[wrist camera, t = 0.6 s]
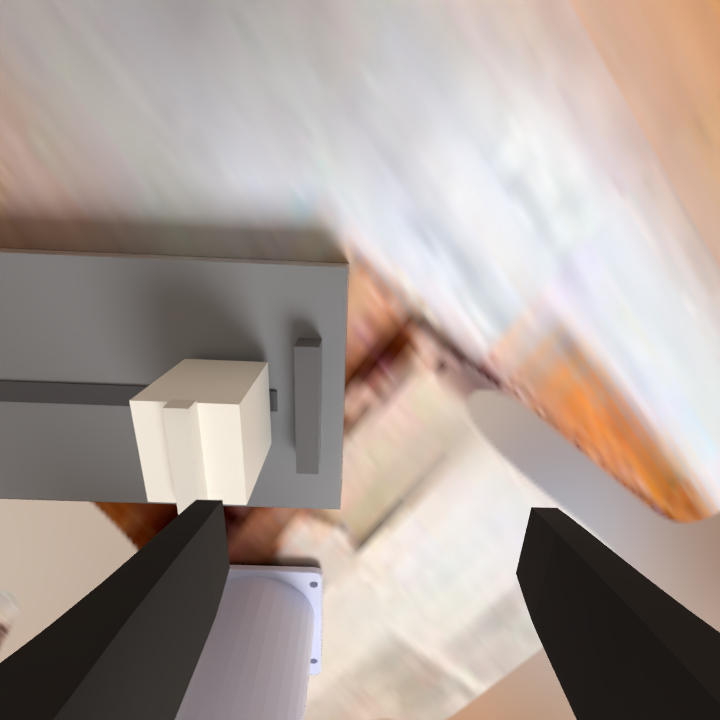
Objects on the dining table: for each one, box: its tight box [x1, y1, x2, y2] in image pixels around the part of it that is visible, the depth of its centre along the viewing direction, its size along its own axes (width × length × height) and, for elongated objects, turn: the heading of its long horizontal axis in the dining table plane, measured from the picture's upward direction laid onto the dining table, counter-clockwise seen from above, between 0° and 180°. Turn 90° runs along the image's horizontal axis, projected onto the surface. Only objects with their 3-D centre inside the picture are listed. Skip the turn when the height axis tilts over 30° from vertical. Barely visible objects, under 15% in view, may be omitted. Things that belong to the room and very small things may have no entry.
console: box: [0, 248, 349, 509], centre depth 17 cm, size 12×28×3 cm, turn 87°
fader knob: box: [129, 359, 272, 515], centre depth 14 cm, size 4×4×5 cm
